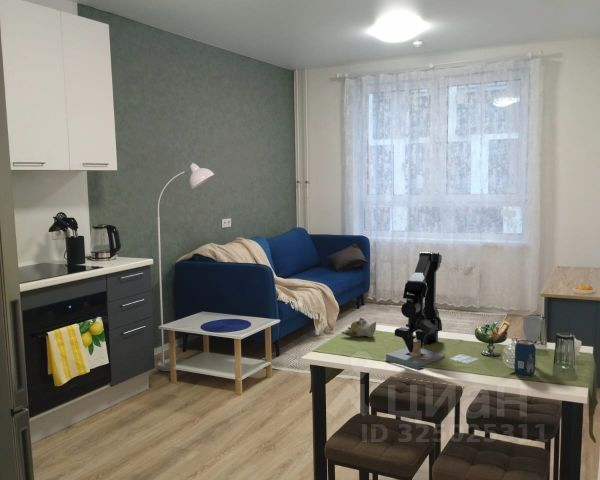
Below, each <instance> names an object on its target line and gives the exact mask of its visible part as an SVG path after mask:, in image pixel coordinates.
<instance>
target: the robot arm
mask: <svg viewBox="0 0 600 480" xmlns="http://www.w3.org/2000/svg"><path fill="white" fill-rule="evenodd" d="M442 260H443V256H442V254H440V253H439V252H438V251H420V252H419V255H418V261H417V264H416V267H415V269H414V272H413V274H411V275H410V276H409V277H408V278H407V281H406V282H405V283H404V284H405V285H404V290H403V295H402V298H403V299H406V300H405V303H403V304H402V306H401V308H400V311H401V314H402V315H403V316H404V317H405V318H407V323H406V324H405V327H402V326H401V327H398V328H395V330H394V337H398V338H401V339H402V340H403V342H404V344H405V346H406V348H408V350H409V352H411V353H412V350H413V340H414V339H416V340H420V341H421V349H423V345H426V346H427V345H428V346H429V345H430V346H431V345H433V344H437V343H440V340H439V332H440V331H443V323H442V320H441V317H440V312H439V310H438V309H437V307H436V297H437V295H436V293H437V292H436V291H437V272H438V270H439V268H441V264H442ZM414 333H415V336H414Z"/></svg>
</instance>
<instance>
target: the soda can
mask: <svg viewBox="0 0 600 480" xmlns="http://www.w3.org/2000/svg"><path fill="white" fill-rule="evenodd" d="M535 359H536V345H535V342H532V341H529V340H527V339H518V340H516V344H515V346H514V372H515V374H516V375H517V376H519V375H520V376H519V377H522V376H525V377H524V378H527V377H526V376H531V377H533V376H532V375H534V374H535V372H536V366H535V362H536V361H535Z"/></svg>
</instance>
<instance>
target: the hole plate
mask: <svg viewBox="0 0 600 480" xmlns="http://www.w3.org/2000/svg"><path fill="white" fill-rule="evenodd" d="M445 356H446V355H445V354H443V353H439V352H437V351H432V350H430V349H429V350H428V349H425V348H422V349H421V357H418V358H415V357H412V356H410V352H409V350H408V348H407V347H403V348H401V349H398V350H397V349H396V350H395V351H391V352H389V353H386V354H385V361H386V362H390V363H394V364H397V365H400V366H404V367H406V368H409V369H413V370H415V371H419V372H420V371H421V370H423V369H424V370H425V367H424V368H423V367H422V366H425V365H428V364H431V363H433V362H436V361H439V360H441V359H444V358H446V357H445Z"/></svg>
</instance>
